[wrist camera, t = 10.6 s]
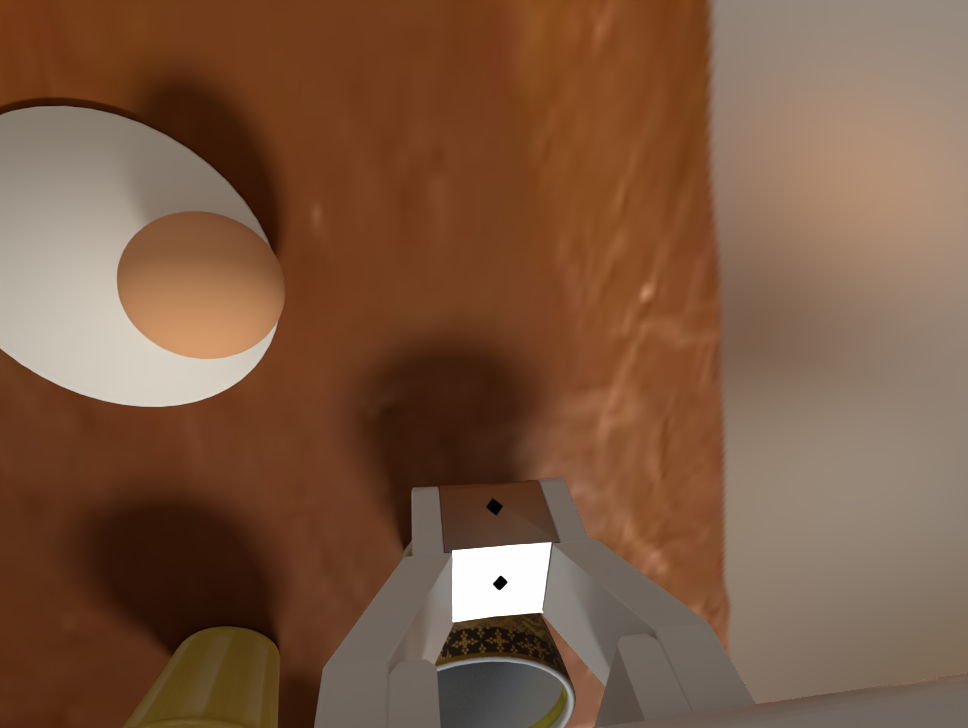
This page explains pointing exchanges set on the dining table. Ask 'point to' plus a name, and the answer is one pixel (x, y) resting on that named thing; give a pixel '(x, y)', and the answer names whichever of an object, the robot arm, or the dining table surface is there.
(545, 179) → the dining table surface
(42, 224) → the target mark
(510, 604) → the robot arm
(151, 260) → the ball
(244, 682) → the plant pot
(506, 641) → the ceramic cup
